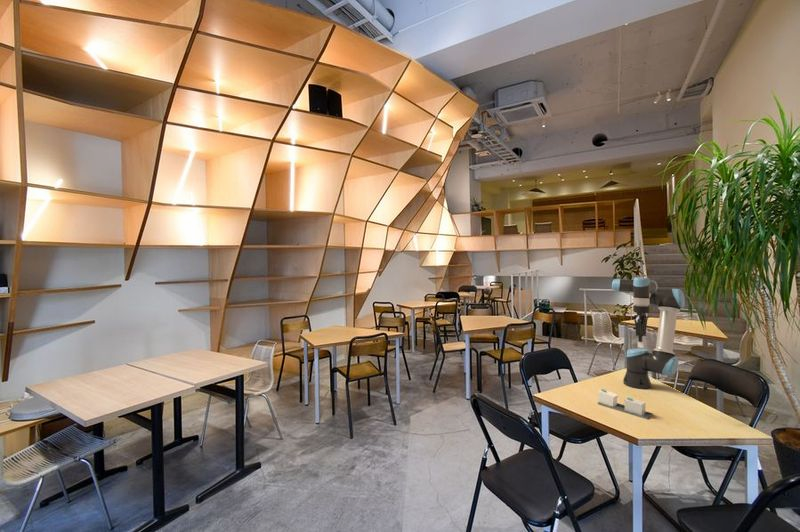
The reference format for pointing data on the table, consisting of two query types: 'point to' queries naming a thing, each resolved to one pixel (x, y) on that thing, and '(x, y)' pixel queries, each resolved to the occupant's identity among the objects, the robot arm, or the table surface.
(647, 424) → the table surface
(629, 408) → the module seated
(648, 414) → the rail
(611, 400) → the block
